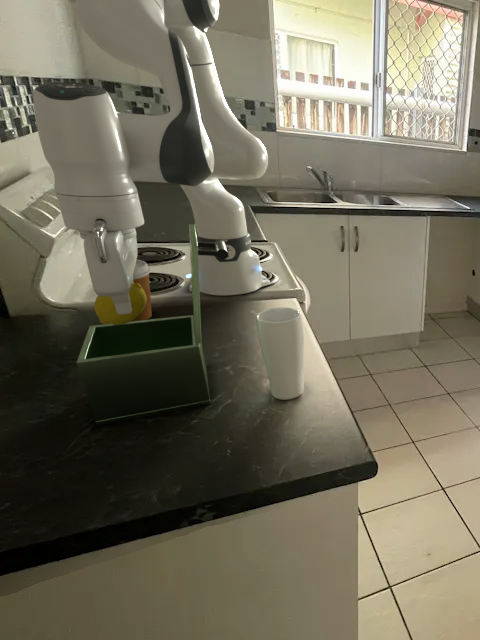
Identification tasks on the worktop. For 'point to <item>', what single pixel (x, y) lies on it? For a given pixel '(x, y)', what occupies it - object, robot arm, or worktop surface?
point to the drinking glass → (282, 350)
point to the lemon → (108, 311)
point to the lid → (194, 252)
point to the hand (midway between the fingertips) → (127, 304)
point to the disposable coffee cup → (143, 287)
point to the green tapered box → (143, 369)
